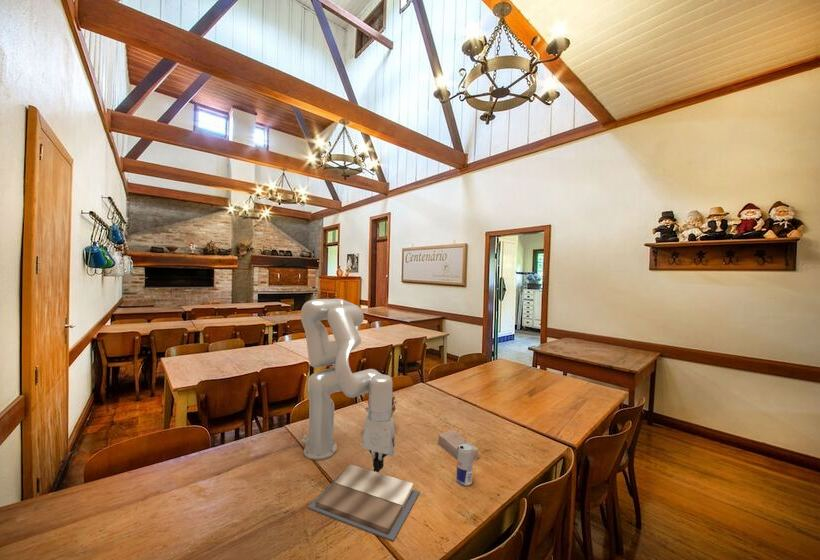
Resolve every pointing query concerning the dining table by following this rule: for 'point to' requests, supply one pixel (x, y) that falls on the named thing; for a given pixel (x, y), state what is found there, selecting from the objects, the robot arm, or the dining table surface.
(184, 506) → the dining table surface
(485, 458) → the dining table surface
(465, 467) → the energy drink
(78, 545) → the dining table surface
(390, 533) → the underlay mat
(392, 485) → the loose plank
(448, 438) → the brick
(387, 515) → the laid plank
